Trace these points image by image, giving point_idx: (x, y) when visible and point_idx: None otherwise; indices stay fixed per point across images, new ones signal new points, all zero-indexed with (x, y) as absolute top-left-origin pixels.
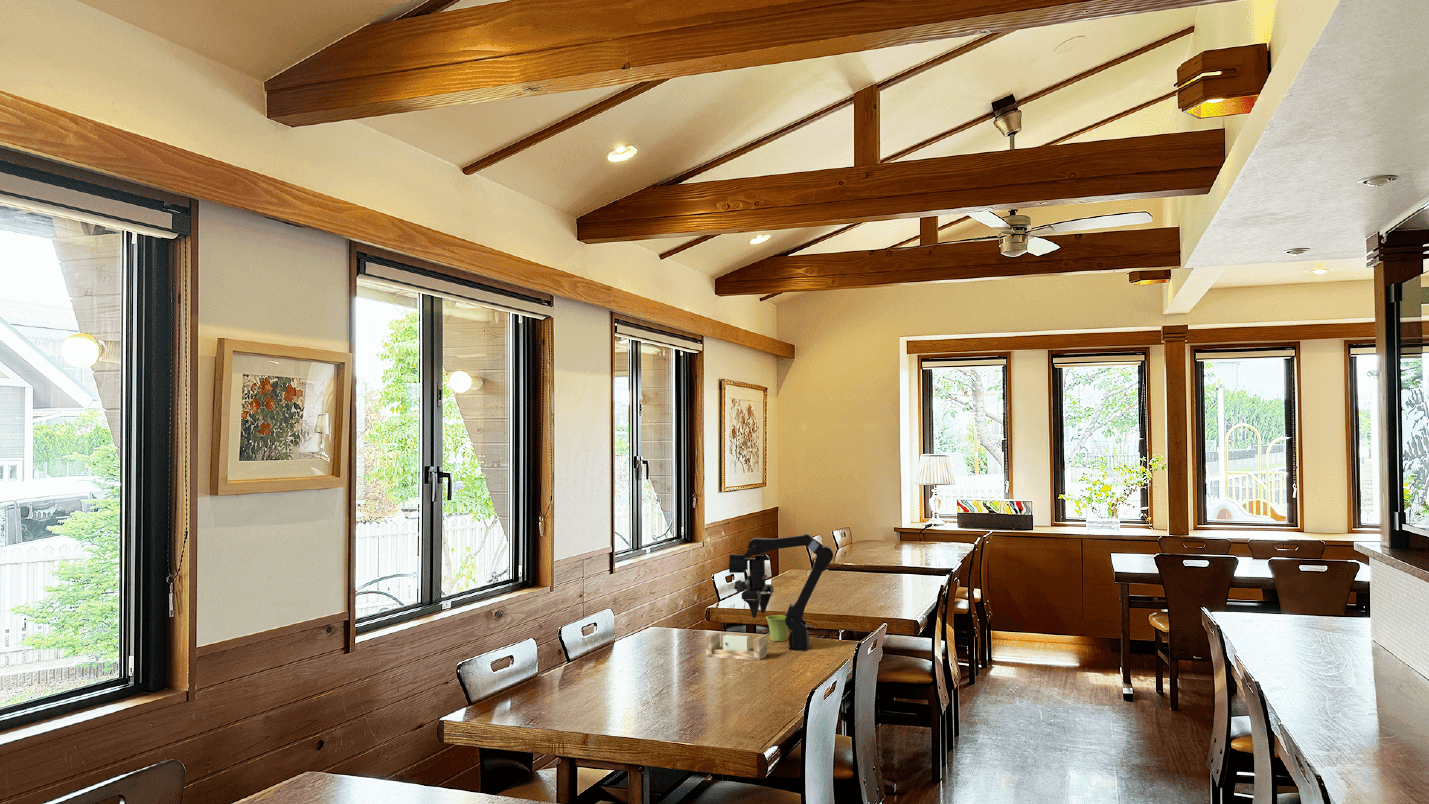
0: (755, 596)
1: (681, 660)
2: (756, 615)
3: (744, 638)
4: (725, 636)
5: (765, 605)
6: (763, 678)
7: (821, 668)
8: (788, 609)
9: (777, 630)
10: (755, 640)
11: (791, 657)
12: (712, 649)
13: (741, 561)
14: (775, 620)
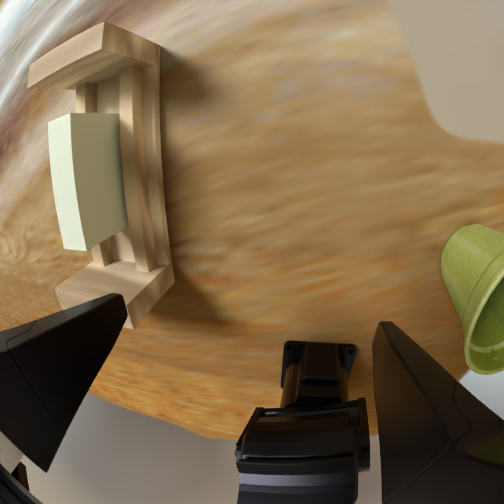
0: None
1: (47, 44)
2: (115, 334)
3: (64, 236)
4: (49, 134)
5: (382, 427)
6: (27, 309)
7: (126, 402)
8: (238, 497)
9: (455, 292)
10: (59, 294)
11: (180, 356)
12: (76, 85)
13: None
14: (471, 321)
